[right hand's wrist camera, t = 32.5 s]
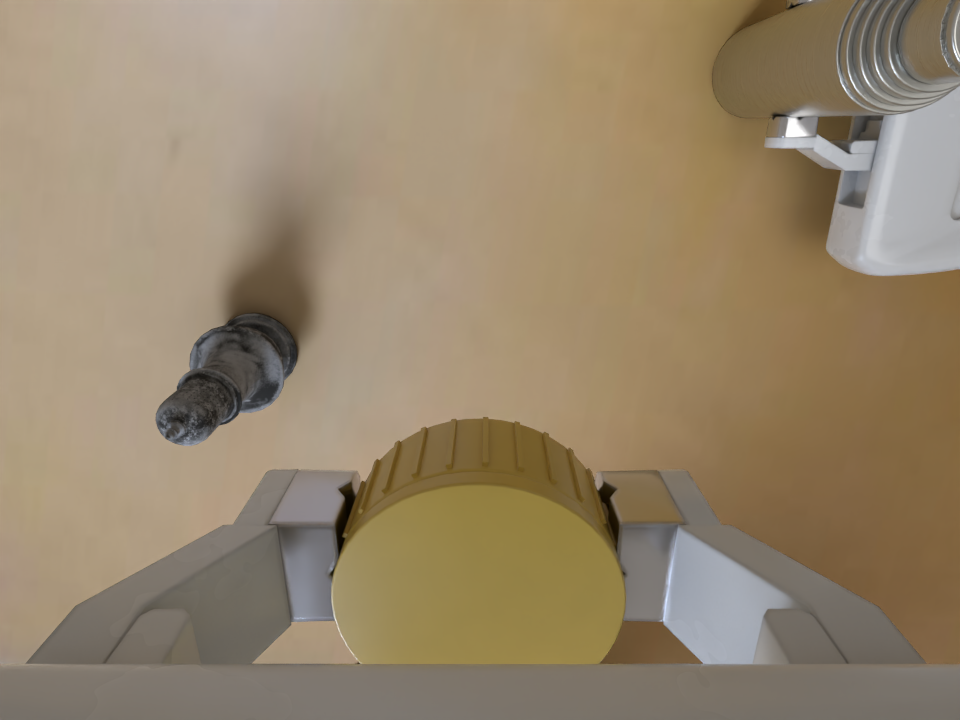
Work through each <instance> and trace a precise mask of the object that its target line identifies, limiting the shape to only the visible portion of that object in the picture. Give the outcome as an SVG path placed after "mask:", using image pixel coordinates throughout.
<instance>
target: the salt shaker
mask: <svg viewBox="0 0 960 720" xmlns="http://www.w3.org/2000/svg"><path fill="white" fill-rule="evenodd" d="M296 360H297V350H296V345H295V342H294V340H293V338H292V336H291V334H290V333H289V332H288V330H287V329H286V328H285V327H284V326H283V325H282V324H280V323H279V322H278V321H276V320H275V319H273V318H271V317H269V316H266V315H261V314H244V315H240V316H237V317H235V318H234V319H232V320H231V321H229V322H228V323H227V324H226V325H225V326H221V327H218V328H214V329H211V330H210V331H208V332H206V333H205V334H203V335H202V336H201V337H200V338H199V339H198V340H197V342H196V343H195V344H194V346H193V349H192V351H191V354H190V370H191V371H189V372H188V373H186V374H185V375H184V376H183V377H182V378H181V379H180V381H179V383H178V386H177V391H176V392H174V393H173V394H172V395H171V396H170V397H169V398H167V399H166V400H165V401H164V402H163V403H162V404H161V405H160V407H159V408H158V411H157V413H156V423H157V427H158V429H159V431H160V433H161V434H162V435H163V436H164V437H165V439H167V440H169V441H171V442H173V443H175V444H179V445H184V446H192V445H196V444H199V443H200V442H202V441H204V440H206V439H207V438H208V437H209V436H210V435H211V434H212V432H213V431H214V430H215V429H216V428H217V427H218V426H219V425H223V424H227V423H229V422H230V421H232V420H233V419H234V418H235V417H236V416H237V415H238V414H239V413H251V412H255V411H259V410H262V409H264V408H266V407H267V406H269V405H271V404H272V403H273V402H274V401H275V400H276V399H277V398H278V396H279V394H280V392H281V390H282V388H283V385H284V380H285V379H286V378H287V377H288V376H289V375H290V374H291V373H292V371H293V369H294V367H295V365H296Z"/></svg>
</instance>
